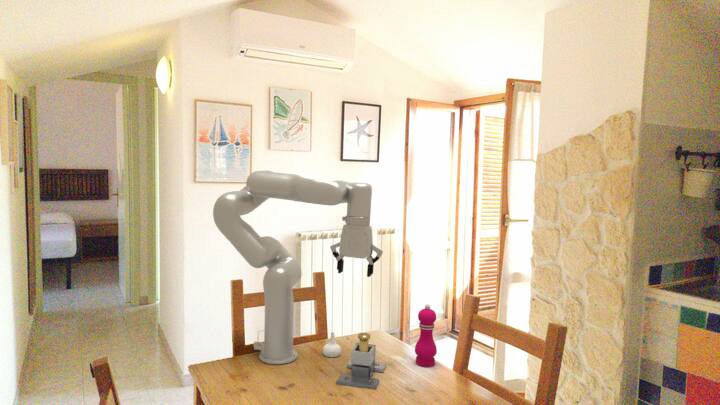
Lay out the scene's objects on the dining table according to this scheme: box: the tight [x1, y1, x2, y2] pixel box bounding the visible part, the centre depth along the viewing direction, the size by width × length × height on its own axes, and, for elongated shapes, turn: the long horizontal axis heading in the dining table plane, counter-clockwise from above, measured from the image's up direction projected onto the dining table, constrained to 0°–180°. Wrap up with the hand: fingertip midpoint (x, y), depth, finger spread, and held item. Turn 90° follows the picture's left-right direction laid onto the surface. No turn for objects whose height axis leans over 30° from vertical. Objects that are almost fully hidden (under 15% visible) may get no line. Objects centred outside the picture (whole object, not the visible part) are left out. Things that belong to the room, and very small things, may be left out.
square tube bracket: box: [346, 342, 387, 373], centre depth 155 cm, size 12×12×8 cm
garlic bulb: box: [322, 331, 342, 358], centre depth 168 cm, size 6×6×8 cm
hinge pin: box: [357, 332, 371, 366], centre depth 152 cm, size 4×4×13 cm
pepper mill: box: [414, 303, 438, 368], centre depth 162 cm, size 7×7×20 cm
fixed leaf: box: [336, 361, 380, 390], centre depth 150 cm, size 12×11×4 cm
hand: (354, 274), depth 158 cm, fingers open, 9 cm apart
